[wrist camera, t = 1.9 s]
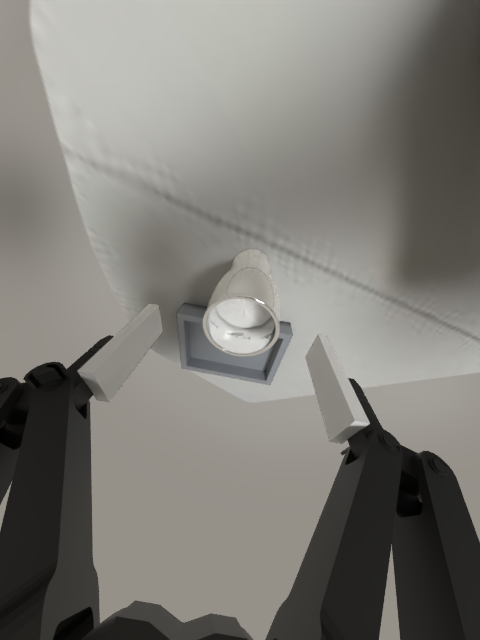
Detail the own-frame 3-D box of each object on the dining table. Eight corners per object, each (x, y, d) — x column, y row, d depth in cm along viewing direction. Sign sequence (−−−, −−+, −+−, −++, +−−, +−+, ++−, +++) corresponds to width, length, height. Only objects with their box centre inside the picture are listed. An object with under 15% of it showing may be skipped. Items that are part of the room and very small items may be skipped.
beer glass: (275, 287, 28) (284, 356, 15) (234, 292, 29) (213, 359, 17) (271, 241, 24) (280, 286, 12) (224, 250, 25) (187, 298, 13)
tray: (290, 322, 31) (292, 335, 28) (269, 372, 40) (270, 385, 37) (184, 302, 31) (176, 313, 29) (187, 356, 40) (181, 368, 37)
